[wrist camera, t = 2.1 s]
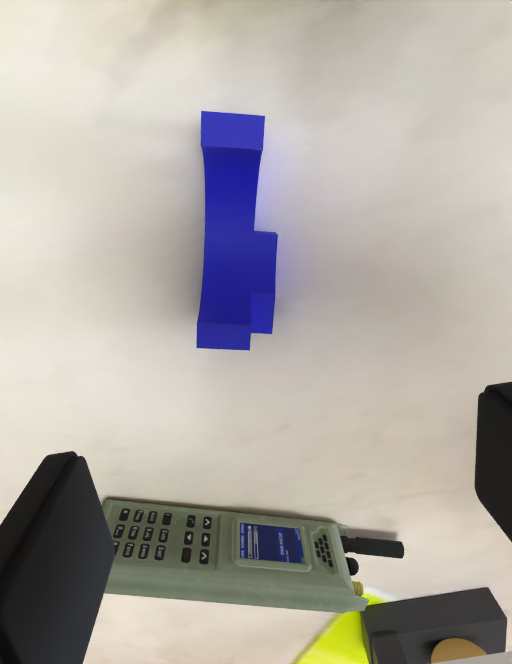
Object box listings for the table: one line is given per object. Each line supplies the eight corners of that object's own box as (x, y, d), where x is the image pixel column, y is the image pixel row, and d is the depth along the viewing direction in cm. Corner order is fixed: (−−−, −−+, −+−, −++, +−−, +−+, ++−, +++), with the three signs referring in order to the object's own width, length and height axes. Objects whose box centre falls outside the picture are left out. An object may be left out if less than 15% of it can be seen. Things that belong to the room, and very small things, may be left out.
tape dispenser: (488, 587, 40) (547, 682, 32) (487, 625, 41) (542, 724, 34) (359, 607, 40) (388, 706, 32) (363, 643, 41) (391, 747, 34)
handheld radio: (104, 490, 34) (402, 522, 36) (103, 522, 35) (392, 550, 38) (74, 563, 28) (435, 595, 30) (73, 598, 29) (421, 627, 31)
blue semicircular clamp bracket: (268, 319, 30) (276, 351, 24) (204, 316, 30) (196, 347, 24) (283, 132, 26) (296, 118, 20) (209, 126, 26) (201, 110, 20)
